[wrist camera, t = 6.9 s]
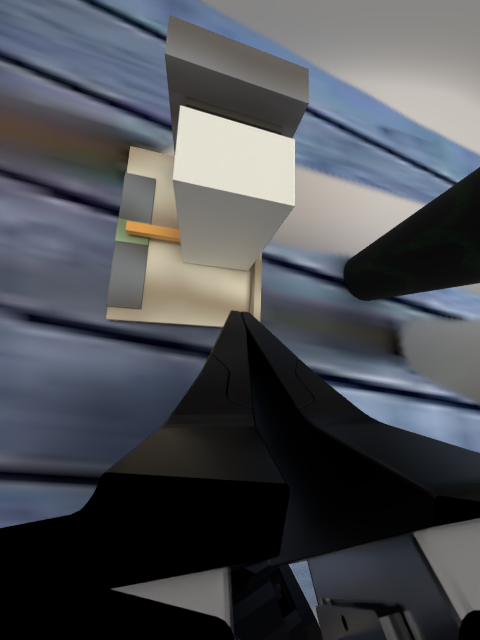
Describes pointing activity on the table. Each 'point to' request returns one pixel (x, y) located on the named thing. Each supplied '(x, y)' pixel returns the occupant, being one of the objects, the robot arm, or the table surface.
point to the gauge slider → (226, 190)
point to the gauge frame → (158, 191)
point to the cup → (424, 248)
